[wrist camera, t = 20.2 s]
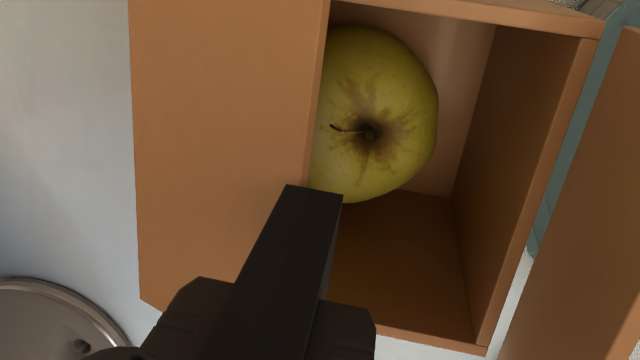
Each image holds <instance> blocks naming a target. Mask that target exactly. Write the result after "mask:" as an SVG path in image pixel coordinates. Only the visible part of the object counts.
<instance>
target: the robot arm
mask: <svg viewBox="0 0 640 360" xmlns="http://www.w3.org/2000/svg"><path fill="white" fill-rule="evenodd" d="M343 196H344V195H343V194H338V193H333V192H327V191H322V190H316V189H311V188H306V187H300V186H295V185H289V184H286V185H285V187H284V189H283V191H282V193H281V195H280V197H279V198H278V200H277V202H276V204H275V206H274V208H273V210H272V212H271V214H270V216H269V218H268V219H267V221H266V223H265V225H264V227H263V229H262V231H261V233H260V235H259V237H258V239H257V240H256V242H255V244H254V246H253V248H252V250H251V252H250V254H249V256H248V258H247V260H246V262H245V263H244V265H243V267H242V269H241V271H240V273H239V275H238V277H237V279H236V281H235V283H231V282H226V281H221V280H217V279H212V278H207V277H202V276H198V277H197V278H195V279H194V280H192V281H191V282H189V283H188V284H186V285H185V286H183V287H182V288H180V289H179V290H178V292H177V293H176V295H175V296H174V298H173V299H172V301H171V302H170V304H169V305H168V307H167V310H166V311H164V313H163V314H162V316H161V317H160V318H159V320H158V321H157V325H156V326H154V327H153V329H152V330H151V332H150V333H149V335H148V336H147V338H146V339H145V341H144V342H143V344H142V345H141V347H140V348H138V347H131V346H130V344H129V342H128V340H127V339H126V337H125V336H124V335H123V333H122V332H121V331H120V329H119V328H118V327H117V326H116V324H115V323H114V322H113V321H112V320H111V319H110V318H109V317H108V316H107V315H106V314H104V313H103V312H102V311H101V310H100V309H98V308H97V307H96V306H95V305H93V304H92V303H90V302H89V301H87V300H86V299H84V298H83V297H81V296H79V295H78V294H76V293H74V292H72V291H70V290H68V289H65V288H63V287H61V286H58V285H55V284H52V283H49V282H45V281H42V280H37V279H31V278H6V279H1V280H0V360H374V351H375V341H376V326H375V324H374V322H373V320H372V317H371V315H370V313H369V311H368V309H366V308H361V307H356V306H351V305H346V304H341V303H336V302H332V301H327V300H325V298H326V294H327V290H328V285H329V281H330V275H331V269H332V263H333V257H334V251H335V245H336V239H337V233H338V226H339V220H340V214H341V208H342V202H343Z"/></svg>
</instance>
